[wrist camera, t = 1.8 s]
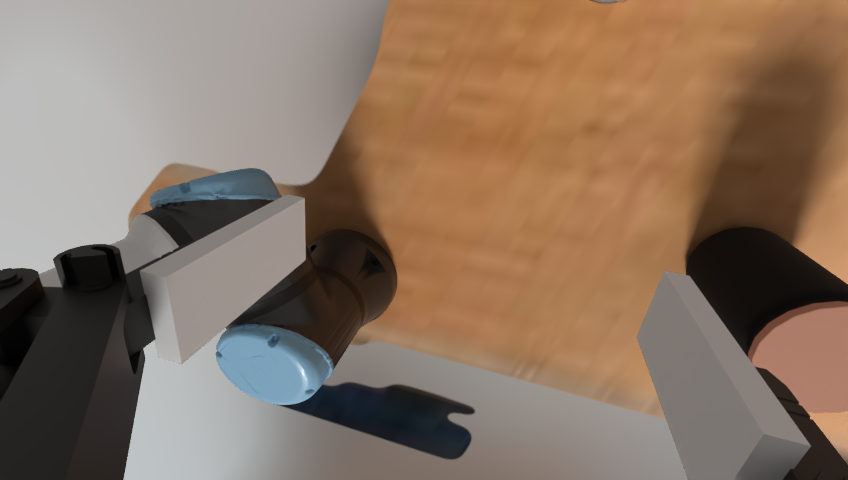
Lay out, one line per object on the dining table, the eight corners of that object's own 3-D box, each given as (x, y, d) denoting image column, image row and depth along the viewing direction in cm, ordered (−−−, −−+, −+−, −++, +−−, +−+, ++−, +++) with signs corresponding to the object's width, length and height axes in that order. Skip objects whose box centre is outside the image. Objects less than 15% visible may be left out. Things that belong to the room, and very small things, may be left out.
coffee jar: (667, 289, 52) (726, 390, 36) (707, 213, 47) (795, 289, 31) (757, 313, 50) (862, 430, 34) (807, 236, 45) (956, 330, 29)
